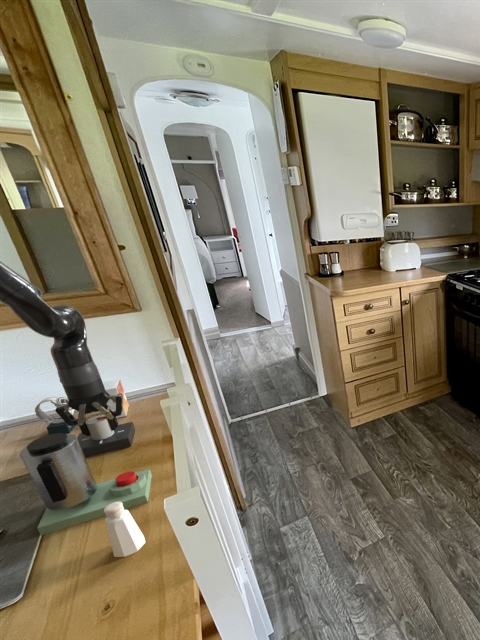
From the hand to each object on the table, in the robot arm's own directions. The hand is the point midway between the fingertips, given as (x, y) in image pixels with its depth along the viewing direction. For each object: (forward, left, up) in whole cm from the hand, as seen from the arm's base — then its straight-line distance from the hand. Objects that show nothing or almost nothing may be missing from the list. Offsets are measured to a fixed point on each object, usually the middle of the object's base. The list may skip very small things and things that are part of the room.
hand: (101, 431), depth 108 cm
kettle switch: (+9, -29, -1) cm, 30 cm away
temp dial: (0, 0, -1) cm, 1 cm away
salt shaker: (+10, -48, -5) cm, 49 cm away
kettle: (-1, -29, 0) cm, 29 cm away
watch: (-12, +16, -5) cm, 21 cm away
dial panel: (0, 0, -4) cm, 4 cm away
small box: (0, +20, -5) cm, 21 cm away
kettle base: (+3, -29, -4) cm, 29 cm away
